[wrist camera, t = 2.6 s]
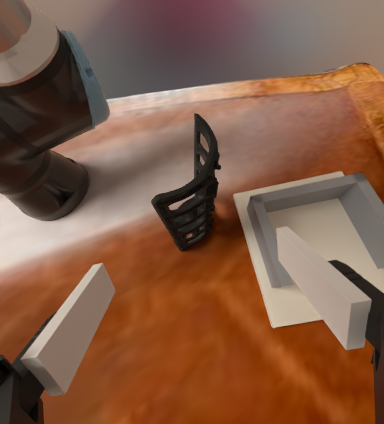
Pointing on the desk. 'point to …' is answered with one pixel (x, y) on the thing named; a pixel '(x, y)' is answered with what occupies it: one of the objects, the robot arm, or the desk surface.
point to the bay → (312, 235)
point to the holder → (202, 187)
